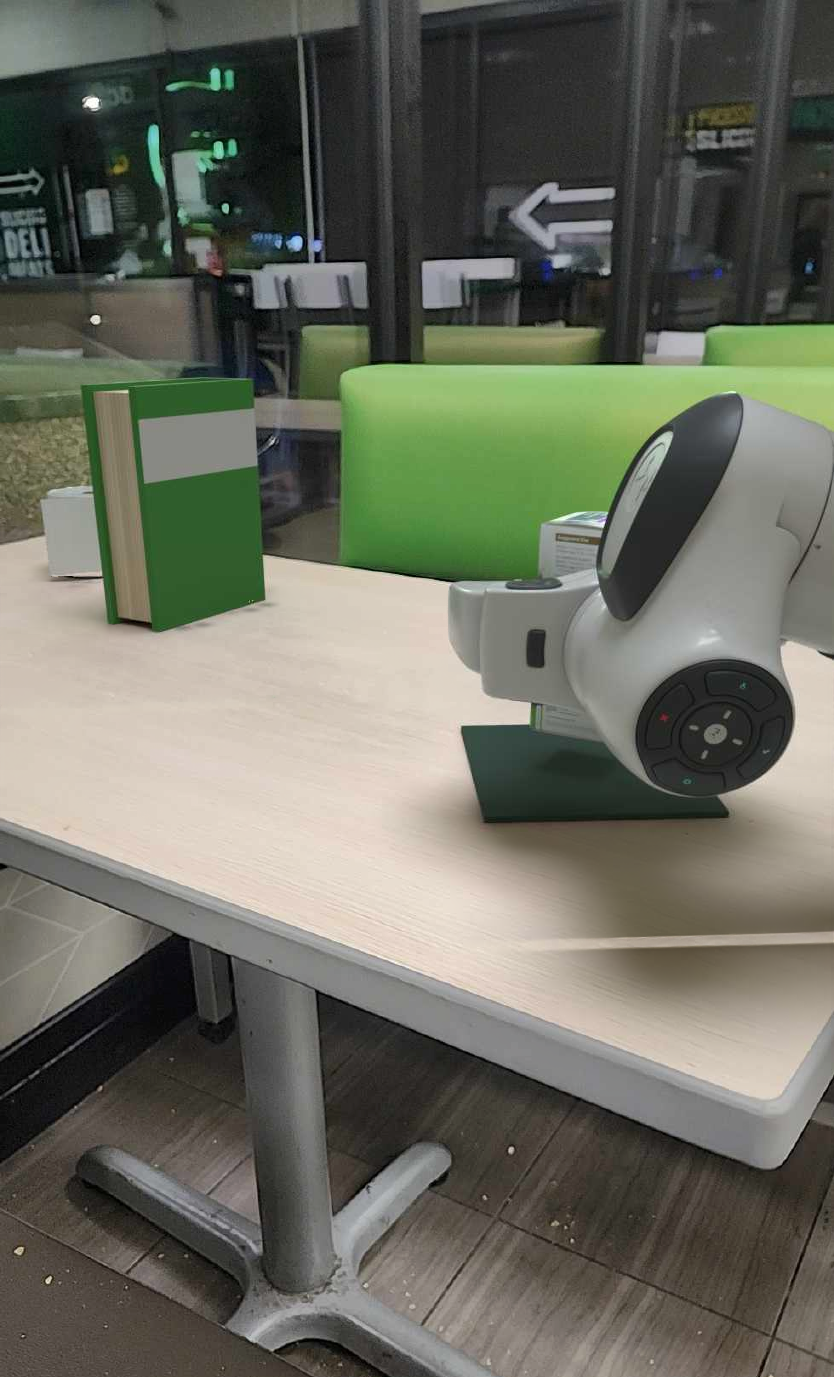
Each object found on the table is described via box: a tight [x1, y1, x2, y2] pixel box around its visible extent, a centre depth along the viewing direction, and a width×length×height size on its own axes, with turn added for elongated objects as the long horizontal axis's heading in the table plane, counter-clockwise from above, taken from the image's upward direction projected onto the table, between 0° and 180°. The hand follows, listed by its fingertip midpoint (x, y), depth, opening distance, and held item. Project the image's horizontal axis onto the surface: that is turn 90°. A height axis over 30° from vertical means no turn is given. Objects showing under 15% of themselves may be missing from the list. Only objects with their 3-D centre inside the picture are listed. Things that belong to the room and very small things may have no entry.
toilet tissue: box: [39, 485, 103, 578], centre depth 145 cm, size 11×12×10 cm
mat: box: [460, 723, 730, 823], centre depth 81 cm, size 16×18×1 cm
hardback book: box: [80, 376, 266, 633], centre depth 122 cm, size 18×7×24 cm, turn 148°
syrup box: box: [529, 511, 609, 742], centre depth 77 cm, size 6×6×14 cm
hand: (588, 590), depth 77 cm, fingers closed on syrup box, 8 cm apart
